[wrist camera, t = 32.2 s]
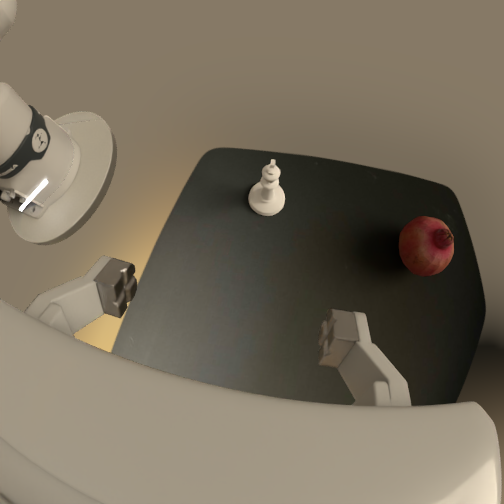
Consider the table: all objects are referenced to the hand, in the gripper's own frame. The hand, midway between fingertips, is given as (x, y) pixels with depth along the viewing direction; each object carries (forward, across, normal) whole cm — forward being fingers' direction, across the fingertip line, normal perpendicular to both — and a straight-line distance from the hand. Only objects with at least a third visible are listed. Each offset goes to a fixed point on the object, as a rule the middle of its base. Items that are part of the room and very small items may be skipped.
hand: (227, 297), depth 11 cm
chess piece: (+28, 0, +8) cm, 29 cm away
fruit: (+26, -23, +9) cm, 35 cm away
